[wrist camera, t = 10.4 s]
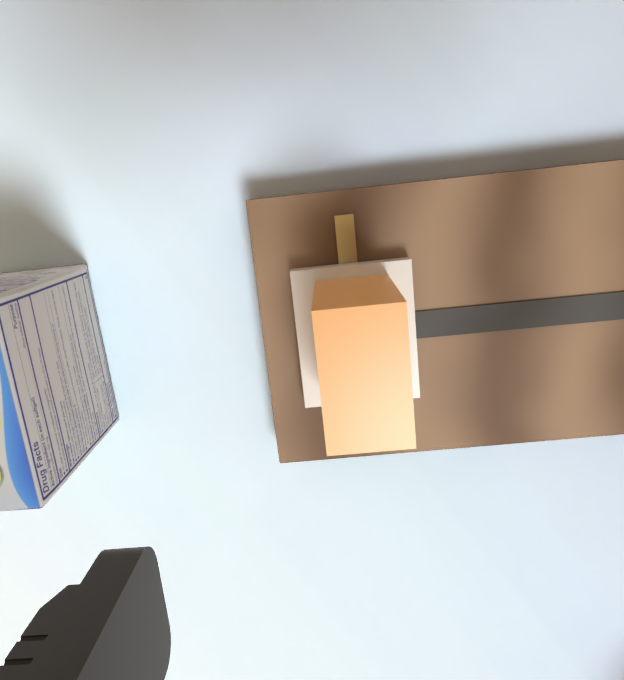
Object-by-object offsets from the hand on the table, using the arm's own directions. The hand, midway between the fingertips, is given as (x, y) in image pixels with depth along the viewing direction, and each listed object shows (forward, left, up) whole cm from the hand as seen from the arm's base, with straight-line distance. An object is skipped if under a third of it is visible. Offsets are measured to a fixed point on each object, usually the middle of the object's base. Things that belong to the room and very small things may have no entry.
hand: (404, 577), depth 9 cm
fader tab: (0, 0, -17) cm, 17 cm away
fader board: (-7, 0, -19) cm, 20 cm away
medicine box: (+14, 0, -19) cm, 24 cm away
